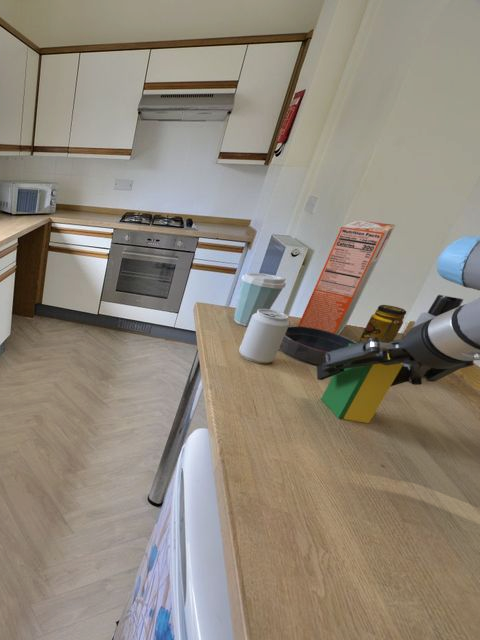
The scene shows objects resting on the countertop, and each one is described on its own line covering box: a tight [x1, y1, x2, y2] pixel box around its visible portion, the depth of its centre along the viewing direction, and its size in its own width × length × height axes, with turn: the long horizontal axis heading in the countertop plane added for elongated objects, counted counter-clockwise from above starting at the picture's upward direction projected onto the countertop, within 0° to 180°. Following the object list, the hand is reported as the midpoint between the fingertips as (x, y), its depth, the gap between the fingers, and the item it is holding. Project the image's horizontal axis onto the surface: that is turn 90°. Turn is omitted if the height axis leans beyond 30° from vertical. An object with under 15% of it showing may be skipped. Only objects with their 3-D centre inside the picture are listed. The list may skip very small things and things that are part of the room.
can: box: [238, 308, 290, 364], centre depth 98 cm, size 8×8×12 cm
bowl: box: [279, 325, 358, 367], centre depth 104 cm, size 17×17×4 cm
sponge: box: [320, 343, 403, 424], centre depth 78 cm, size 5×7×13 cm
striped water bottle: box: [403, 294, 464, 383], centre depth 92 cm, size 6×6×20 cm
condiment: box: [357, 304, 407, 354], centre depth 106 cm, size 7×8×12 cm
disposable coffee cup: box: [233, 272, 287, 328], centre depth 119 cm, size 11×11×15 cm
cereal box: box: [297, 219, 397, 335], centre depth 113 cm, size 23×8×30 cm, turn 131°
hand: (348, 377), depth 81 cm, fingers open, 9 cm apart
